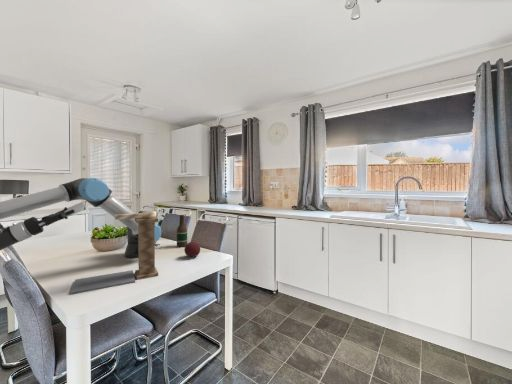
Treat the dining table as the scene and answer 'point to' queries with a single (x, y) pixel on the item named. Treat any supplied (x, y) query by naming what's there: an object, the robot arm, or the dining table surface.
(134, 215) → the spoon
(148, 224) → the stand
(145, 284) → the dining table surface
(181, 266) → the dining table surface
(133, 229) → the robot arm
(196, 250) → the decorative ball
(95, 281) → the mat
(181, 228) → the beer bottle
